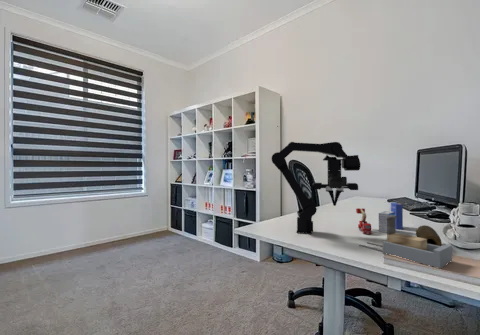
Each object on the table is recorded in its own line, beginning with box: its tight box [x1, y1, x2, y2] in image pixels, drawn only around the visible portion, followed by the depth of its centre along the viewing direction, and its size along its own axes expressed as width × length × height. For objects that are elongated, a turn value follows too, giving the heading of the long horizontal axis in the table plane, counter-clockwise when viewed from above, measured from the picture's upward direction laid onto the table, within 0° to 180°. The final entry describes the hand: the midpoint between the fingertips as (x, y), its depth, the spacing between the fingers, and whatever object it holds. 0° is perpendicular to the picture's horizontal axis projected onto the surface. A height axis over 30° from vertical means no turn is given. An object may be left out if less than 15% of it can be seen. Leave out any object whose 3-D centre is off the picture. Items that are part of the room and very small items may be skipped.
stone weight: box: [415, 224, 443, 246], centre depth 93 cm, size 15×7×7 cm, turn 155°
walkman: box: [388, 201, 404, 230], centre depth 122 cm, size 8×3×12 cm, turn 170°
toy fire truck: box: [355, 208, 372, 235], centre depth 115 cm, size 3×14×10 cm, turn 168°
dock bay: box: [359, 240, 453, 269], centre depth 85 cm, size 25×10×5 cm, turn 34°
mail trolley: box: [386, 216, 427, 251], centre depth 83 cm, size 10×6×12 cm, turn 34°
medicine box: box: [378, 210, 395, 234], centre depth 114 cm, size 8×4×9 cm, turn 131°
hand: (334, 205), depth 112 cm, fingers closed
